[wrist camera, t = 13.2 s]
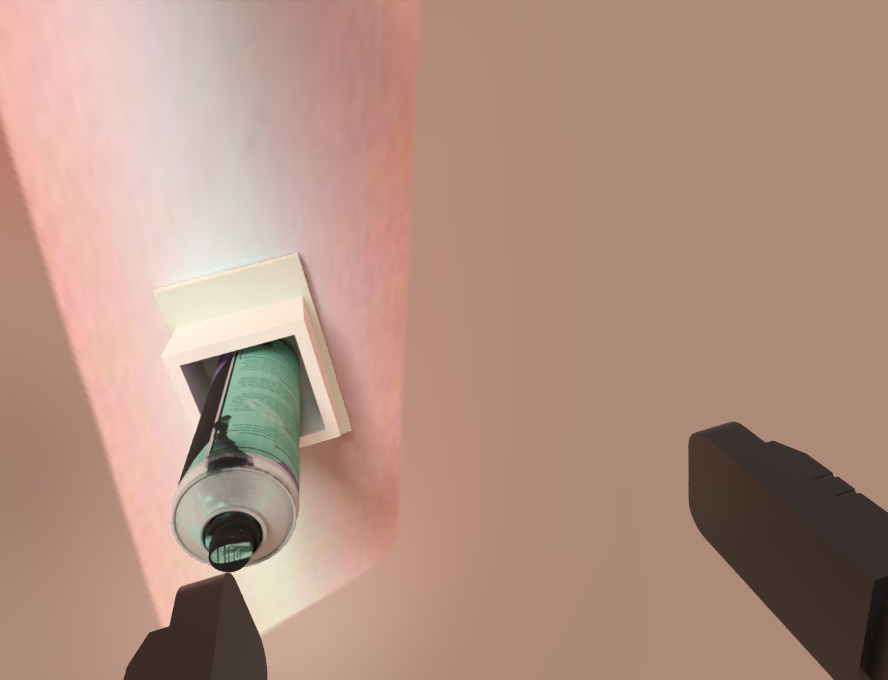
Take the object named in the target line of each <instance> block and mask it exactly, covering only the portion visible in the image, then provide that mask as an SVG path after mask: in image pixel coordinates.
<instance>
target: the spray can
mask: <svg viewBox="0 0 888 680" xmlns="http://www.w3.org/2000/svg"><path fill="white" fill-rule="evenodd" d="M299 442H300V364H299V359H298V355H297V353H296V351H295V349H294V347H293V346H292V345H291V344H290V343H289V342H288V341H287V340H286V339H285V338H280V339H276V340H273V341H269V342H265V343H262V344H258V345H254V346H251V347H247V348H243V349H240V350H236V351H232V352H228V353H225V354H221V356H220V359H219V362H218V365H217V368H216V371H215V374H214V377H213V380H212V383H211V386H210V389H209V392H208V395H207V398H206V401H205V404H204V407H203V411H202V414H201V417H200V420H199V423H198V426H197V429H196V432H195V435H194V438H193V441H192V444H191V447H190V450H189V453H188V456H187V459H186V462H185V465H184V469H183V472H182V475H181V478H180V481H179V484H178V487H177V490H176V493H175V496H174V499H173V506H172V519H171V524H172V529H173V533H174V536H175V538H176V540H177V542H178V543H179V545H180V546H181V547H182V548H183V550H184V551H186V552H187V553H188V554H189V555H190V556H192V557H193V558H195V559H197V560H199V561H200V562H202V563H205V564H208V565H211V566H213V567H214V568H215V569H217V570H219V571H222V572H235V571H237V570H240V569H241V568H243V567H248V566H251V565H255V564H258V563H260V562H263V561H265V560H267V559H269V558H270V557H272V556H273V555H275V554H276V553H278V552H279V551H280V550H281V549H282V548H283V547H284V546H285V545H286V543H287V542H288V540H289V539H290V537H291V536H292V533H293V531H294V528H295V525H296V519H297V517H298V510H299Z"/></svg>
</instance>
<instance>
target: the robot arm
mask: <svg viewBox="0 0 888 680" xmlns="http://www.w3.org/2000/svg"><path fill="white" fill-rule="evenodd" d="M689 506H690V510H691V514H692V517H693V519H694V521H695V523H696V525H697V527H698V529H699V531H700V532H701V533H702V535H703V536H704V537H705V538H706V540H707V541H708V542H709V543H710V544H711V545H712V546H713V547H714V548H715V550H716V551H717V552H718V553H719V554H720V555H721V556H722V557H723V558H724V559H725V560H726V562H727V563H728V564H729V565H730V566H731V567H732V568H733V569H734V570H735V572H736V573H737V574H738V575H739V576H740V577H741V578H742V579H743V580H744V581H745V583H746V584H747V585H748V586H749V587H750V588H751V589H752V590H753V591H754V592H755V593H756V595H757V596H758V597H759V598H760V599H761V600H762V601H763V602H764V603H765V604H766V606H767V607H768V608H769V609H770V610H771V611H772V612H773V613H774V614H775V615H776V617H777V618H778V619H779V620H780V621H781V622H782V623H783V624H784V625H785V626H786V628H787V629H788V630H789V631H790V632H791V633H792V634H793V635H794V636H795V637H796V639H797V640H798V641H799V642H800V643H801V644H802V645H803V646H804V647H805V648H806V650H807V651H808V652H809V653H810V654H811V655H812V656H813V657H814V658H815V659H816V660H817V661H818V663H819V664H820V665H821V666H822V667H823V668H824V669H825V670H826V671H827V673H828V674H829V675H830V676H831V677H832V678H833V679H834V680H888V513H887V512H886V511H885V510H883V509H882V508H881V507H879V506H878V505H877V504H875V503H874V502H872V501H871V500H870V499H868V498H867V497H865V496H864V495H863V494H861V493H858V494H857V493H856V492H855V489H854V488H853V487H852V486H850V485H849V484H847V483H846V482H845V481H843V480H842V479H840V478H839V477H834V476H833V473H832V472H831V471H829V470H828V469H827V468H825V467H824V466H822V465H821V464H820V463H818V462H817V461H816V460H814V459H813V458H811V457H810V456H809V455H807V454H806V453H803V452H801V451H798V450H795V449H793V448H791V447H788V446H785V445H783V444H780V443H778V442H775V441H770V442H767V443H765V442H764V441H763V440H761V439H760V438H759V437H757V436H756V435H755V434H753V433H752V432H751V431H749V430H748V429H747V428H746V427H744V426H743V425H741V424H740V423H737V422H729V423H726V424H722V425H719V426H716V427H712V428H709V429H706V430H703V431H699V432H696V433H694V434H692V435H691V436H690V439H689ZM124 680H267V665H266V658H265V652H264V648H263V644H262V641H261V638H260V635H259V633H258V630H257V628H256V626H255V624H254V621H253V619H252V617H251V614H250V612H249V610H248V608H247V605H246V603H245V601H244V599H243V596H242V594H241V592H240V589H239V587H238V585H237V583H236V580H235V578H234V577H233V575H232V574H231V573H225V574H221V575H218V576H215V577H211V578H208V579H205V580H201V581H198V582H195V583H191V584H188V585H185V586H182V587H180V588H179V589H178V591H177V594H176V598H175V603H174V607H173V612H172V617H171V621H170V626H169V627H166V628H162V629H159V630H156V631H153V632H150V633H149V634H148V635H147V637H146V638H145V640H144V642H143V643H142V645H141V646H140V648H139V649H138V651H137V652H136V654H135V656H134V657H133V658H132V660H131V662H130V663H129V665H128V666H127V669H126V673H125V676H124Z"/></svg>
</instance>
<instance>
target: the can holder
mask: <svg viewBox="0 0 888 680" xmlns="http://www.w3.org/2000/svg"><path fill="white" fill-rule="evenodd" d="M152 294H153V296H154V298H155V301H156V303H157V305H158V308H159V310H160V313H161V315H162V317H163V320H164V322H165V325H166V327H167V329H168V332H169V334H170V336H171V339H170V341H169V343H168V345H167V347H166V349H165V351H164V353H163V355H162V357H161V358H162V361H163V363H164V365H165V368H166V370H167V372H168V375H169V377H170V379H171V381H172V384H173V386H174V388H175V391H176V393H177V395H178V398H179V400H180V402H181V405H182V407H183V409H184V412H185V414H186V416H187V418H188V421H189V423H190V425H191V428H192V430H193V432H194V435H195V432H196V429H197V426H198V423H199V420H200V417H201V414H202V411H203V407H204V404H205V401H206V398H207V395H208V392H209V389H210V386H211V383H212V380H213V377H214V374H215V371H216V368H217V365H218V362H219V359H220V356H221V354H225V353H228V352H232V351H236V350H240V349H243V348H247V347H251V346H254V345H258V344H262V343H265V342H269V341H273V340H276V339H280V338H285V339H286V340H287V341H288V342H289V343H290V344H291V345H292V346H293V347H294V349H295V351H296V353H297V355H298V359H299V364H300V442H299V448H303V447H306V446H309V445H313V444H316V443H319V442H323V441H326V440H330V439H333V438H336V437H340V436H341V434H343V433H347V432H350V431H352V428H351V423H350V420H349V416H348V413H347V410H346V407H345V403H344V400H343V397H342V394H341V390H340V387H339V384H338V381H337V377H336V374H335V371H334V368H333V364H332V361H331V358H330V355H329V351H328V348H327V345H326V342H325V338H324V335H323V332H322V329H321V325H320V322H319V319H318V316H317V312H316V309H315V306H314V303H313V299H312V296H311V293H310V290H309V286H308V283H307V280H306V276H305V273H304V270H303V267H302V263H301V260H300V257H299V254H298V252H297V253H293V254H289V255H285V256H281V257H277V258H273V259H269V260H266V261H262V262H258V263H254V264H250V265H246V266H242V267H238V268H234V269H230V270H226V271H222V272H218V273H214V274H210V275H206V276H202V277H198V278H195V279H191V280H187V281H183V282H179V283H175V284H171V285H167V286H163V287H159V288H156V289H155V291H154V292H153V293H152Z"/></svg>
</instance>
